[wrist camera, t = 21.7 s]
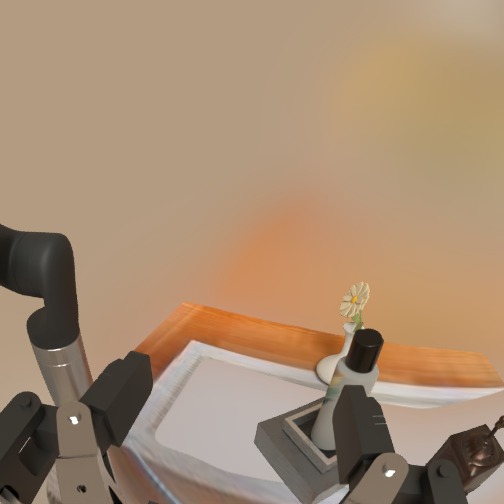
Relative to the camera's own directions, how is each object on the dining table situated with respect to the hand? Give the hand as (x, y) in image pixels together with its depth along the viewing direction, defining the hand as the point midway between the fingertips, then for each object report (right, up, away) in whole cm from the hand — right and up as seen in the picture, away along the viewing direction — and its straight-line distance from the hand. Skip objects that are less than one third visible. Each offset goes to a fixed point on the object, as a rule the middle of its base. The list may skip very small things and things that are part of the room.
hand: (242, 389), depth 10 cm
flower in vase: (+20, -24, +48) cm, 57 cm away
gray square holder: (+11, -29, +27) cm, 41 cm away
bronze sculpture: (+39, -35, +16) cm, 55 cm away
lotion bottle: (+12, -23, +25) cm, 36 cm away
